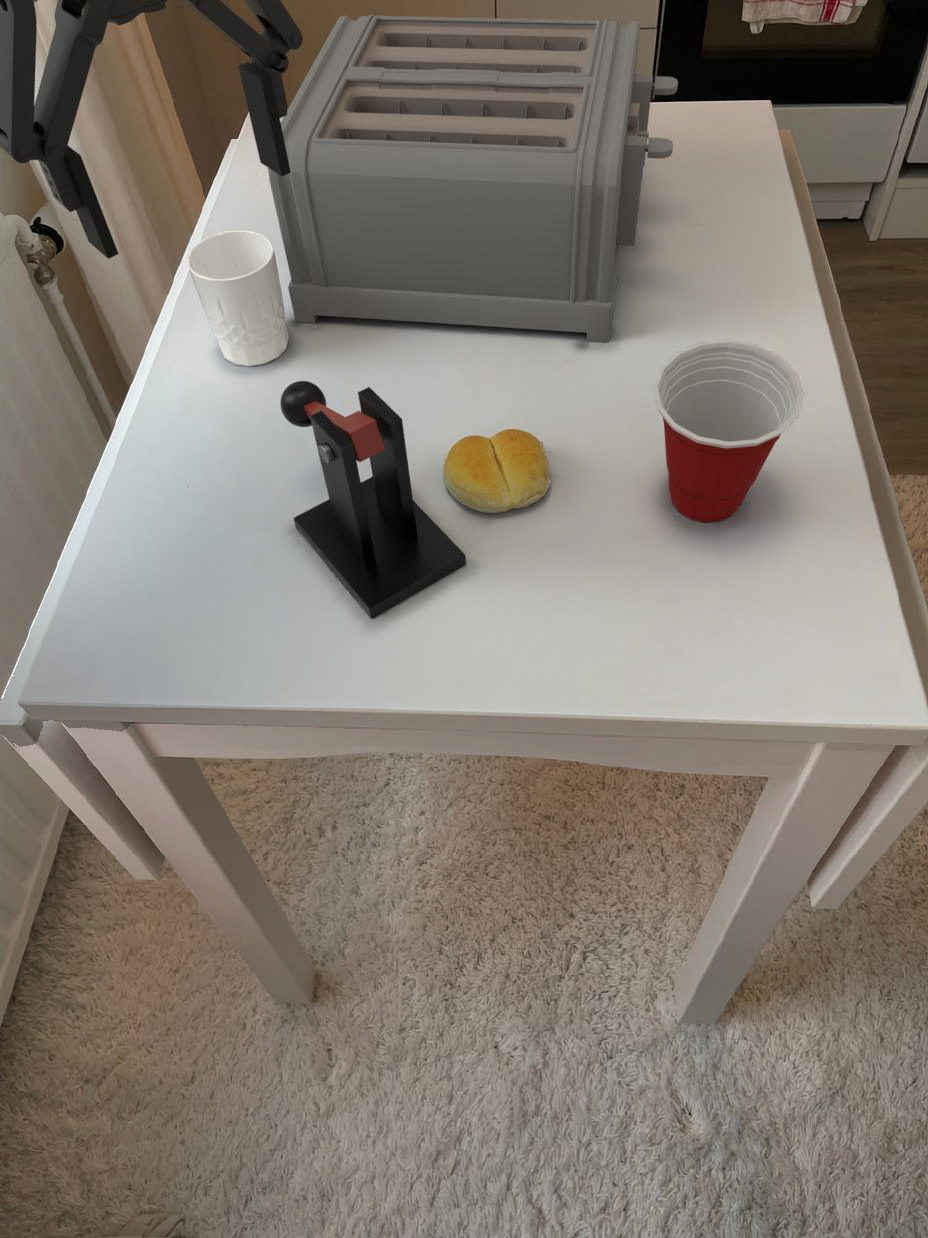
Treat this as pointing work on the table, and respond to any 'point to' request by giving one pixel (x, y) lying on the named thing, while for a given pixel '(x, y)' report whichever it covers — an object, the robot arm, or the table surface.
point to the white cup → (241, 295)
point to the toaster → (466, 171)
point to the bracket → (374, 517)
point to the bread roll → (497, 471)
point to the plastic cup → (722, 421)
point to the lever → (331, 418)
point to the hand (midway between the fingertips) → (193, 206)
